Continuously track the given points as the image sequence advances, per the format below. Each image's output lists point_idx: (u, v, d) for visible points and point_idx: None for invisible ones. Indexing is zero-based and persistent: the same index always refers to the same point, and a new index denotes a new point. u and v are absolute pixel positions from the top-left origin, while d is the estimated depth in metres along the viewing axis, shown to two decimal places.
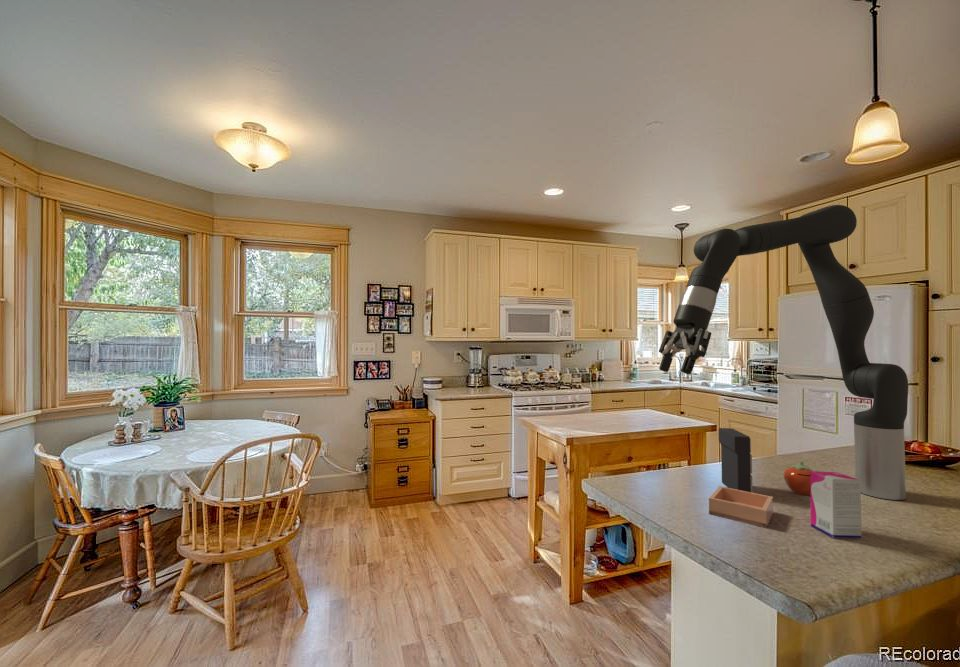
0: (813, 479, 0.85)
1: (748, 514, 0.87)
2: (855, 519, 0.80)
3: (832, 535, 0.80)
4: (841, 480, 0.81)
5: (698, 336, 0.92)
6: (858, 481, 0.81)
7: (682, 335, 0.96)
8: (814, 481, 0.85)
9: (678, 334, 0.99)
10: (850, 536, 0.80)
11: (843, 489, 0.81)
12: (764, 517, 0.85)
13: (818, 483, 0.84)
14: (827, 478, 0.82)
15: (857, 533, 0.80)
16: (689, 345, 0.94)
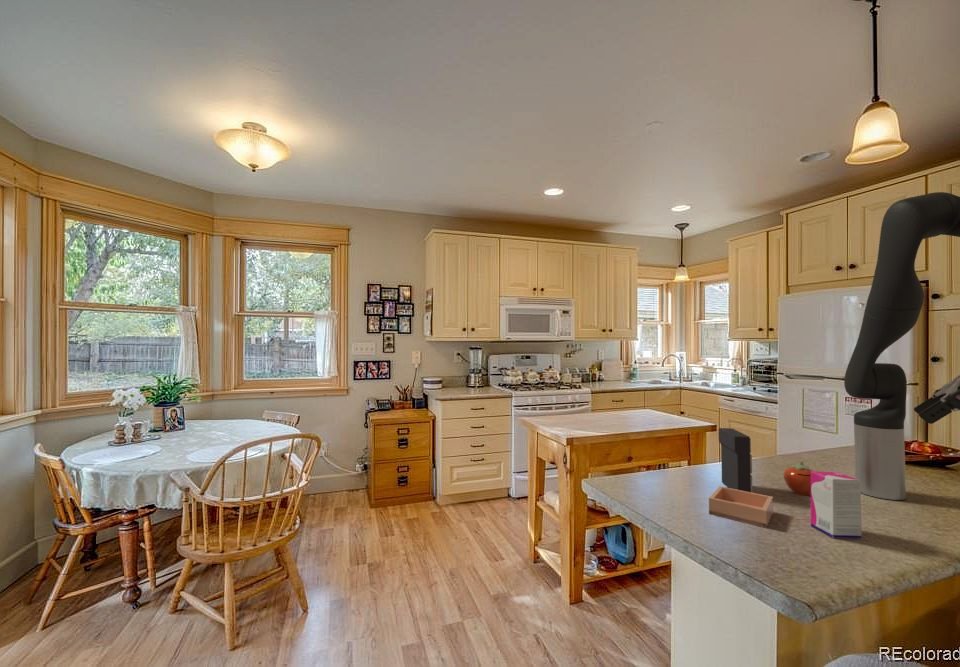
0: (813, 479, 0.85)
1: (748, 514, 0.87)
2: (855, 519, 0.80)
3: (832, 535, 0.80)
4: (841, 480, 0.81)
5: None
6: (858, 481, 0.81)
7: None
8: (814, 481, 0.85)
9: None
10: (850, 536, 0.80)
11: (844, 489, 0.81)
12: (764, 517, 0.85)
13: (818, 483, 0.84)
14: (827, 478, 0.82)
15: (857, 533, 0.80)
16: None
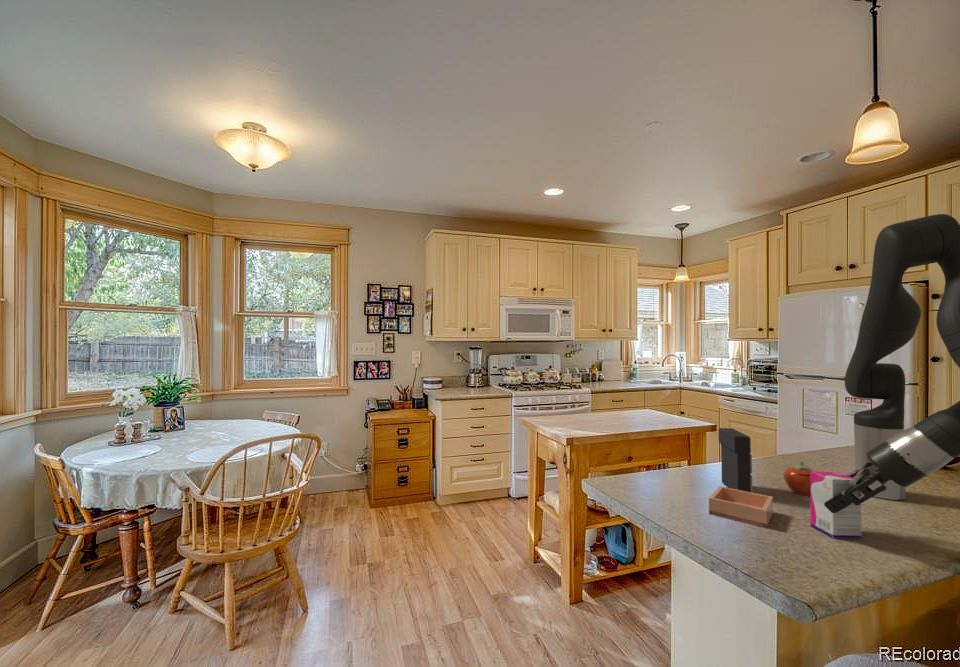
0: (813, 479, 0.85)
1: (748, 514, 0.87)
2: (855, 519, 0.80)
3: (832, 535, 0.80)
4: (841, 480, 0.81)
5: None
6: None
7: None
8: (814, 481, 0.85)
9: None
10: (850, 536, 0.80)
11: (843, 489, 0.81)
12: (764, 517, 0.85)
13: (818, 483, 0.84)
14: (827, 478, 0.82)
15: (857, 533, 0.80)
16: None
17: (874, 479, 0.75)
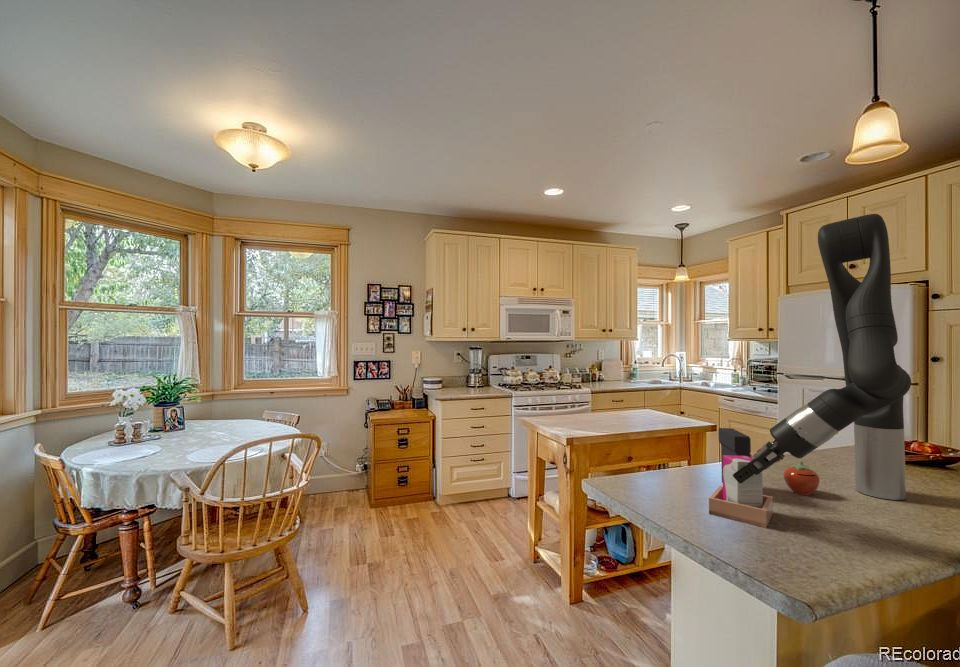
0: (724, 462, 0.95)
1: (748, 514, 0.87)
2: (757, 497, 0.90)
3: None
4: (745, 462, 0.90)
5: None
6: None
7: None
8: (725, 464, 0.94)
9: None
10: None
11: None
12: (764, 517, 0.85)
13: (727, 466, 0.93)
14: (734, 461, 0.91)
15: None
16: None
17: (770, 451, 0.84)
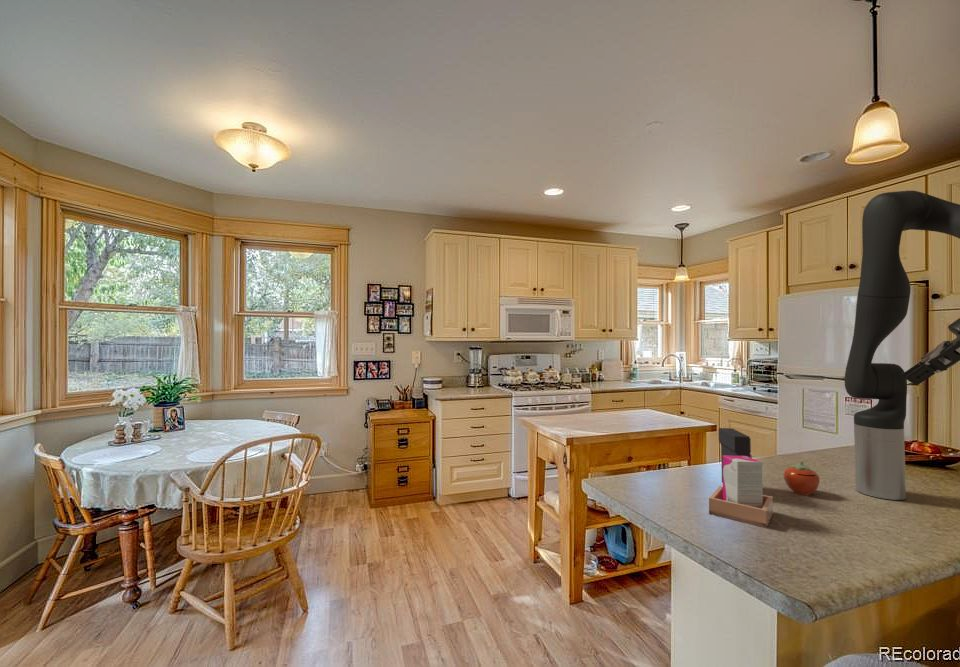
0: (724, 462, 0.95)
1: (748, 514, 0.87)
2: (757, 497, 0.90)
3: None
4: (745, 462, 0.90)
5: None
6: (760, 463, 0.90)
7: None
8: (725, 464, 0.94)
9: None
10: None
11: (747, 470, 0.90)
12: (764, 517, 0.85)
13: (727, 466, 0.93)
14: (734, 461, 0.91)
15: None
16: None
17: None
